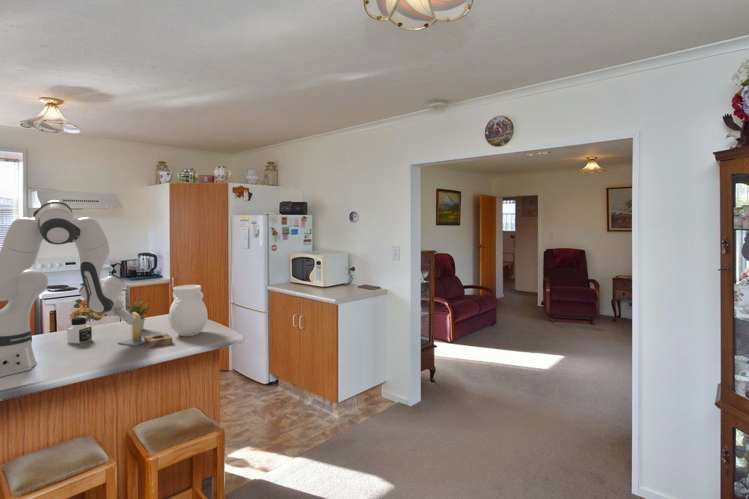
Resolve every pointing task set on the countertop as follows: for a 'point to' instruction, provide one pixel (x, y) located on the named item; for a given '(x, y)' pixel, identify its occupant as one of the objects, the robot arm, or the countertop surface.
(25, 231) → the robot arm
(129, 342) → the slate mat
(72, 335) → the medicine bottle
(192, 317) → the white vase
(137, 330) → the t key
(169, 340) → the socket block
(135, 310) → the house plant
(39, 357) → the countertop surface
